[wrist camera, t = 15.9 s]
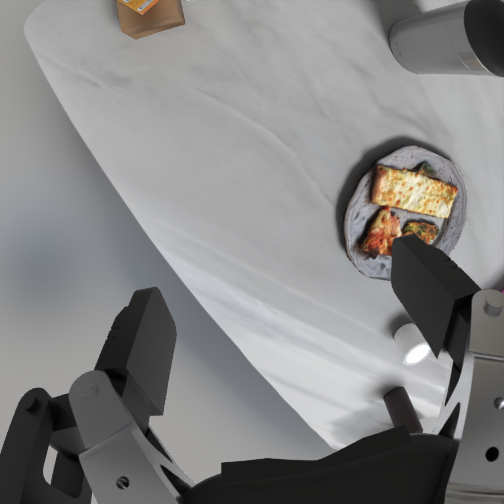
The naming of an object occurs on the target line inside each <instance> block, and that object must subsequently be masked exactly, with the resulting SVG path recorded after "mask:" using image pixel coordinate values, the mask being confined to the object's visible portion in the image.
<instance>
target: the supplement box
mask: <svg viewBox="0 0 504 504" xmlns="http://www.w3.org/2000/svg"><path fill="white" fill-rule="evenodd" d="M118 1H119V2H121V3H123V4H125V5H126V6H128V7H130V8H131V9H133V10H135V11H136V12H138V13H139V14H141V15H143V14H144V13H145V12H147V11H148V10H149V9H150V8H151V7H152V6H153V5H154V4H156V3H157V2H158V1H159V0H118Z"/></svg>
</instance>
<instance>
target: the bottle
mask: <svg viewBox="0 0 504 504" xmlns="http://www.w3.org/2000/svg"><path fill="white" fill-rule="evenodd" d="M384 402H385V404H386V407H387V409H388V412H389V414H390V417H391V420H392V422H393V425H394V428H395V427H398V426H401V425H404V424H406V427H407V429H408V432H409V434H413V433H423V429H422V426H421V424H420V421H419V419H418V417H417V414H416V412H415V410H414V407H413V405H412V403H411V401H410V399H409V396H408V394H407V392H406V390H405V388H402V387H401V388H396V389H393V390H392V391H390V392H389V393H387V394H386V396H385V397H384Z"/></svg>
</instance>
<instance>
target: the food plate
mask: <svg viewBox="0 0 504 504" xmlns="http://www.w3.org/2000/svg"><path fill="white" fill-rule="evenodd" d="M467 205H468V193H467V187H466V183H465V180H464V178H463V175H462V174H461V173H460V171H459V169H458V167H457V166H456V165H455V163H454V164H453V163H451V162H450V161H449V160H447V159H445V158H443V157H441V156H439V155H437V154H435V153H433V152H431V151H429V150H426V149H423V148H422V147H420V146H419V148H418V146H414V145H407V146H402V147H399V148H397V149H395V150H393V151H391V152H390V153H388V154H387V155H385V156H382V157H381V158H379V159H377V160H376V161H374V162H373V164H372V165H371V167H370V168H369V169H368V170H367V171H366V172H364V173H363V175H362V176H361V178H360V180H359V182H358V184H357V186H356V187H355V189H354V191H353V194H352V196H351V198H350V200H349V202H348V205H347V208H346V209H345V213H344V218H343V235H344V240H345V252H346V254H347V257H348V258H349V259H350V261H352V262H353V264H354V266H355V267H356V268H357V269H359V272H361V273H362V274H364V275H365V276H367V277H370V278H374V279H381V280H387V281H391V262H392V242H393V239H394V238H396V237H400V236H405V235H409V234H416V235H417V236H418V237H419V238H420V239H422V240H423V241H424V242H425V243H426V244H427V245H429V244H430V242H431V240H432V239H433V240H434V239H435V236H437V235H438V236H437V238H436V239H435V240H434V242H433V243H432V244H431V245H432V246H434V247H436V248H438V249H440V250H442V251H443V252H444V253H445V254H446V255H447V256H449V254H450V253H451V251H452V250H453V249H454V247H455V245H457V244H456V243H457V242H458V240H459V238H460V235H461V232H462V229H463V227H464V225H465V222H466V219H467ZM391 212H394V215H391ZM405 215H406V216H405ZM422 215H423V216H426V217H428V216H430V217H431V215H432V217H440V218H444V217H445V219H444V222H443V224H442V226H441V229H439V228H437V226H436V225H430V224H427V223H425V222H423V219H421V216H422ZM408 218H409V219H408ZM419 221H420V222H419ZM438 232H439V233H438ZM388 256H390V257H389V258H387V257H388ZM388 263H389V264H388Z"/></svg>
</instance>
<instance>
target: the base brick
mask: <svg viewBox="0 0 504 504" xmlns="http://www.w3.org/2000/svg"><path fill="white" fill-rule="evenodd" d="M116 3H117V9H118V15H119V21H120V27H121V32H123V33H125V34H127V35H129V36H130V37H132V38H134V39H139V38H142V37H145V36H148V35H151V34H154V33H157V32H160V31H163V30H167V29H170V28H173V27H177V26H181V25H184V24H185V19H184V14H183V10H182V5H181V0H159V1H158V2H157V3H156V4H154V5H153V6H152V7H151V8H150V9H149V10H148V11H147V12H145V13H144V14H143V15H141V14H139V13H138V12H136V11H135V10H133V9H131V8H130V7H128V6H126V5H125V4H123V3H121V2H119V1H118V0H116Z"/></svg>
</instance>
